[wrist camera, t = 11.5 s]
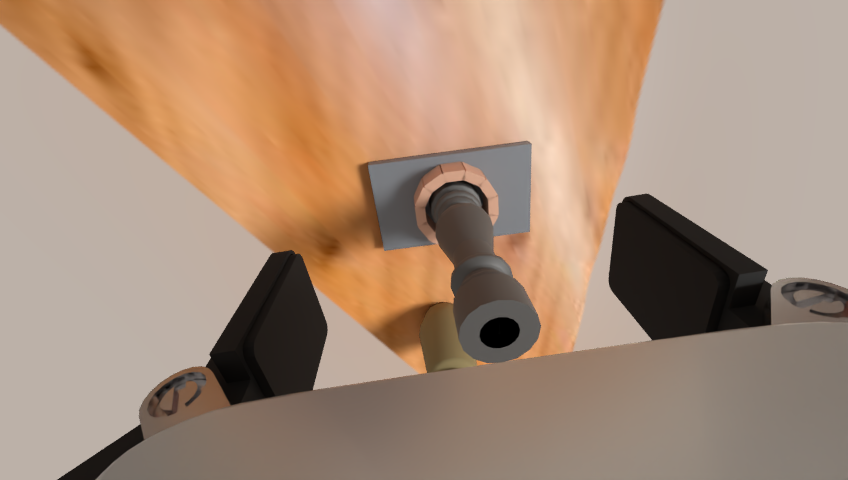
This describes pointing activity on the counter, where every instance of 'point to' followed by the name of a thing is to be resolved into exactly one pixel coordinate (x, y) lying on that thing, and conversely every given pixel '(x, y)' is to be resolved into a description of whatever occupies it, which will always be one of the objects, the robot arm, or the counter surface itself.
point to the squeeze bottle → (442, 340)
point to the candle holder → (481, 279)
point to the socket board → (421, 175)
